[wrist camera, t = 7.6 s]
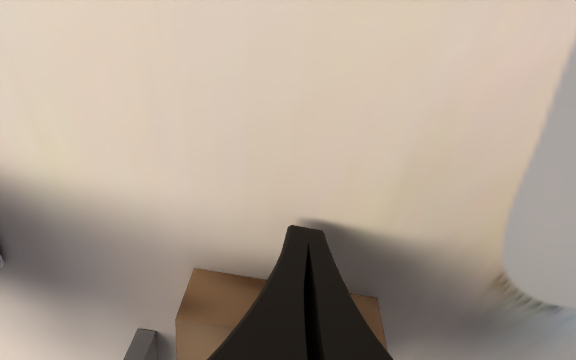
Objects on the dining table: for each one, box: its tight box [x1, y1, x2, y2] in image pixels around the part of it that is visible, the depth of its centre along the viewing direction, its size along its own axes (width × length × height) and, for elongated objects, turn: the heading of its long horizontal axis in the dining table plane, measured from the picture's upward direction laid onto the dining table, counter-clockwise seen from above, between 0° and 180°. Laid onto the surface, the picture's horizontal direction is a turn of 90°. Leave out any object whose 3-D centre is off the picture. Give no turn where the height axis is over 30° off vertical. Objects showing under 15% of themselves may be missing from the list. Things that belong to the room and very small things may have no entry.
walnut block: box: [175, 268, 387, 360], centre depth 17 cm, size 9×6×3 cm, turn 80°
